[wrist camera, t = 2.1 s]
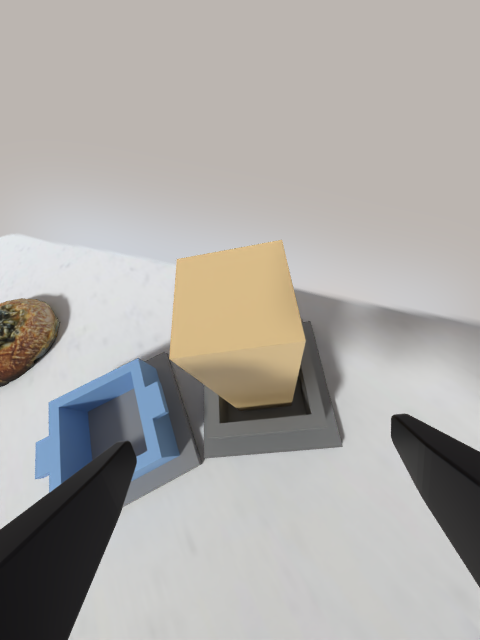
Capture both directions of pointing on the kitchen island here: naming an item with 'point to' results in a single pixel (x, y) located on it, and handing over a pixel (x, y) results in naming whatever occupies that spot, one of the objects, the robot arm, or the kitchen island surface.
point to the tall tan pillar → (239, 325)
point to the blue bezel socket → (121, 427)
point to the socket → (275, 416)
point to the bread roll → (24, 335)
